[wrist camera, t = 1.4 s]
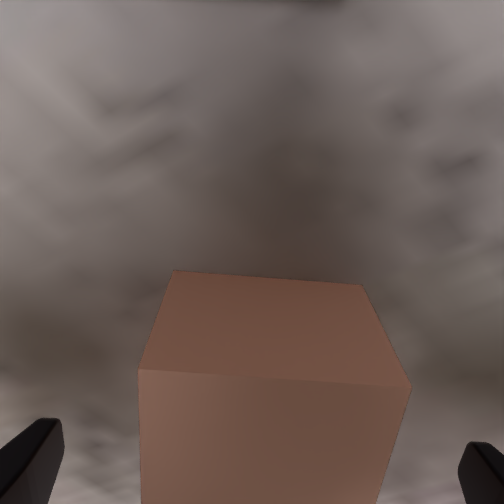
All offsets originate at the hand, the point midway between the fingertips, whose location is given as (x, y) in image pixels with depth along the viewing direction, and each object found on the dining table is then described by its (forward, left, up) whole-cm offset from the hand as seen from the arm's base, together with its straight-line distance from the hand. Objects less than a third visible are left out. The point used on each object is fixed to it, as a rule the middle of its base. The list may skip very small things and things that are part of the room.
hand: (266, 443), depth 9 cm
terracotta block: (0, 0, -3) cm, 3 cm away
